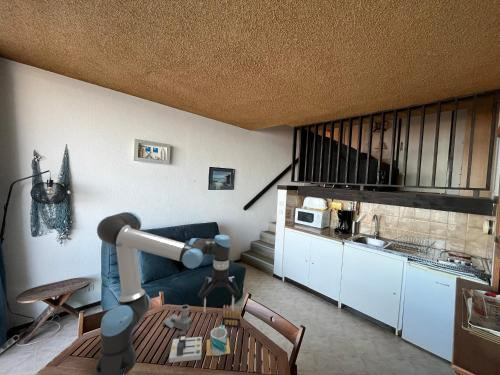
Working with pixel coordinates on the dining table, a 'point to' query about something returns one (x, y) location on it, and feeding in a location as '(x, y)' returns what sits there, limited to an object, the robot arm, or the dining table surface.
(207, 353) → the pad
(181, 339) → the breaker
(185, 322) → the camera
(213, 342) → the mug
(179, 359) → the breaker panel
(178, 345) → the block
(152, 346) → the dining table surface
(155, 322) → the dining table surface
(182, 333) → the breaker
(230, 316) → the ammunition clip
